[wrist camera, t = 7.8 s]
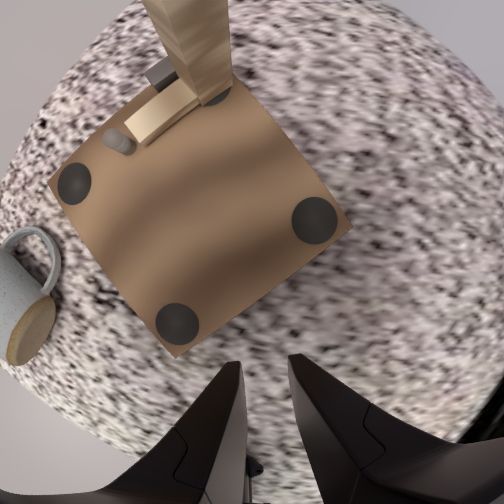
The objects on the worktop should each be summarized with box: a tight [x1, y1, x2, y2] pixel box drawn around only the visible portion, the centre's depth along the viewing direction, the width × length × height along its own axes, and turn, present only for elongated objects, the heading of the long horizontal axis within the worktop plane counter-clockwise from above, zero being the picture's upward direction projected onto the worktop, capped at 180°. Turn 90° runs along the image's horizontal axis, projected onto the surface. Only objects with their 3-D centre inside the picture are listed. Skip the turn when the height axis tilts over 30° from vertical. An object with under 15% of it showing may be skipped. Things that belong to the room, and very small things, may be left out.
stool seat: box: [47, 56, 353, 359], centre depth 18 cm, size 17×16×4 cm
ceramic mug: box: [0, 226, 61, 366], centre depth 17 cm, size 11×8×8 cm
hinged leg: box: [124, 0, 233, 147], centre depth 12 cm, size 7×3×12 cm, turn 128°
